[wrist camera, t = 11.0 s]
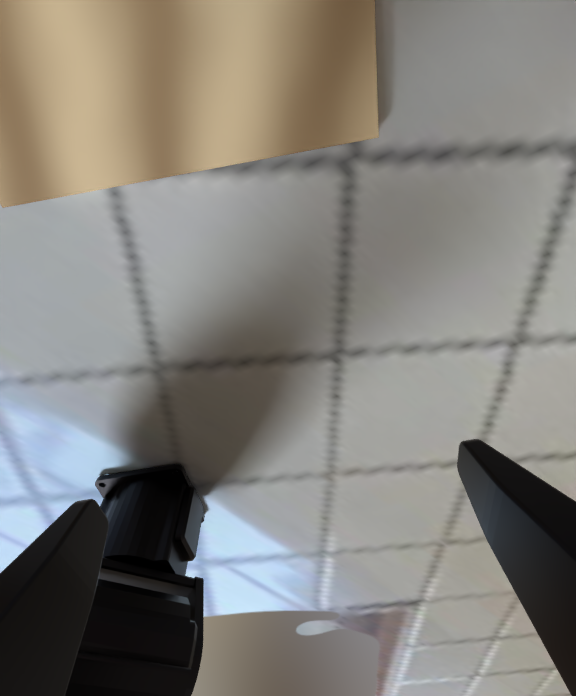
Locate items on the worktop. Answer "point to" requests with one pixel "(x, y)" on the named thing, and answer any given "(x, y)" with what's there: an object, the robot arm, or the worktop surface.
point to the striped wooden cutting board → (175, 87)
